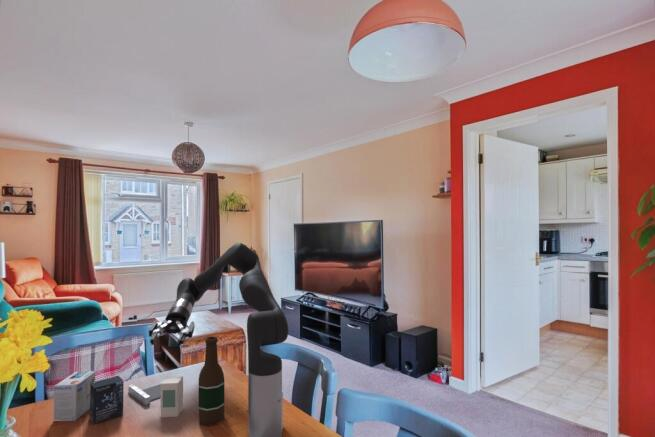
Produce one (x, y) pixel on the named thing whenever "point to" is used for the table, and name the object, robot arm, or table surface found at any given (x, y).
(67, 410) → the light bulb box
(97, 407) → the box
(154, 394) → the shelf mat
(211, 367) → the beer bottle
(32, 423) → the table surface
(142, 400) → the rail
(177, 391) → the carton
